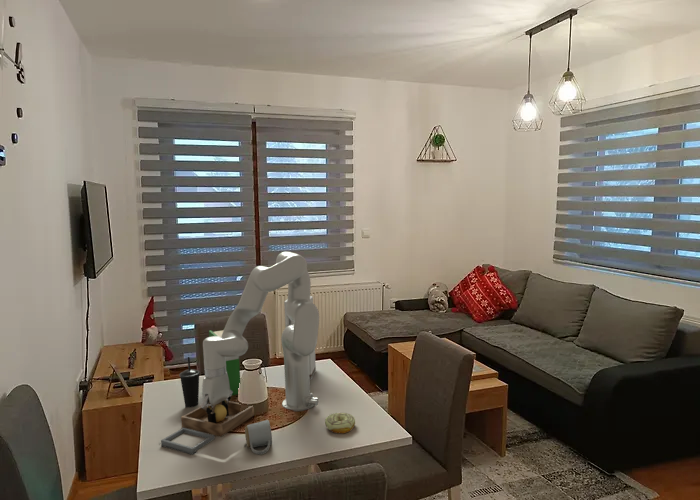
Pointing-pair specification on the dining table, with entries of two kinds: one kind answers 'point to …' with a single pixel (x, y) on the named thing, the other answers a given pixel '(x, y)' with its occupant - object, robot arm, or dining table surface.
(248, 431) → the ceramic mug
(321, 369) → the dining table surface
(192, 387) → the drinking cup
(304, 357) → the robot arm
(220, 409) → the ball
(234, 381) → the hardback book
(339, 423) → the decorated donut
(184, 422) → the walnut box
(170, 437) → the dish
